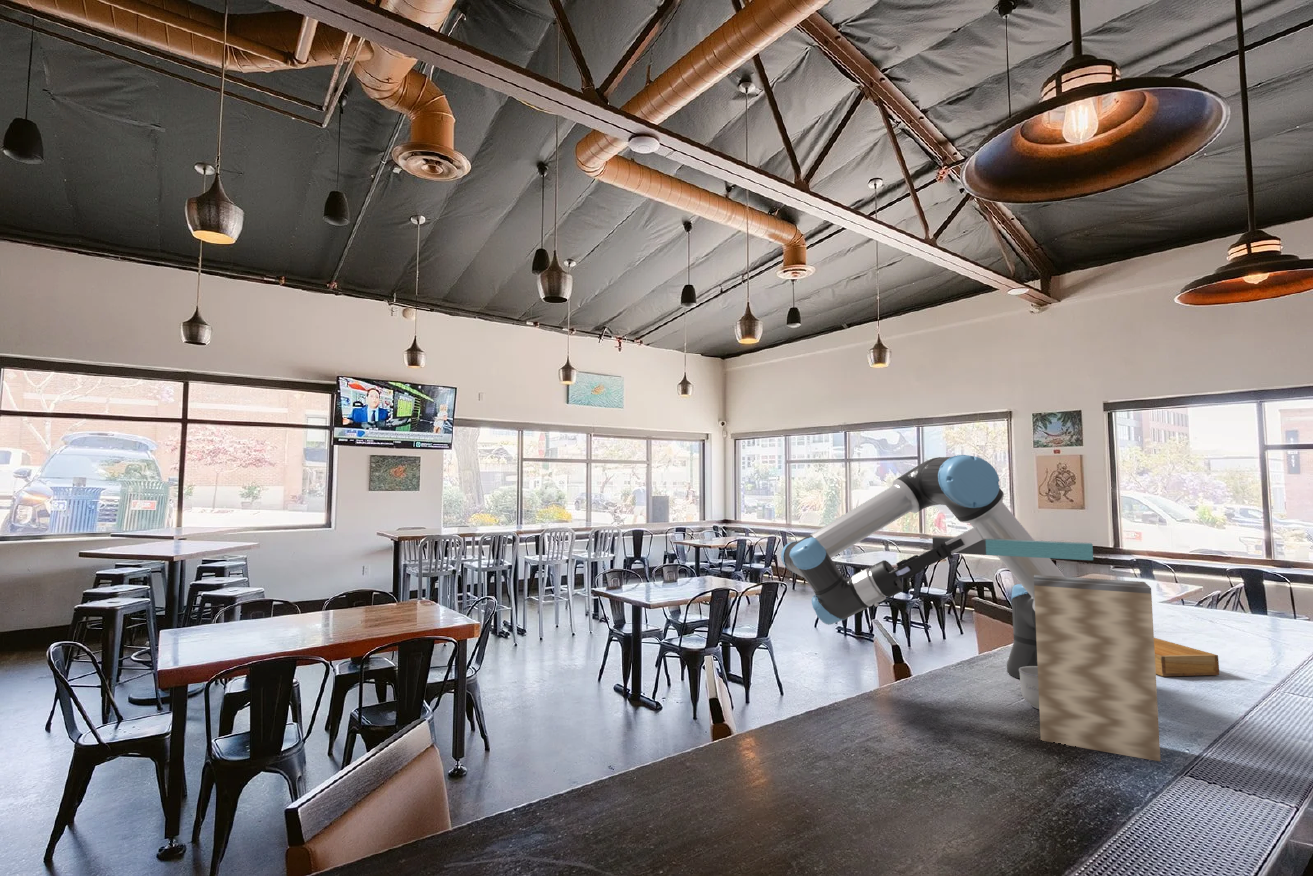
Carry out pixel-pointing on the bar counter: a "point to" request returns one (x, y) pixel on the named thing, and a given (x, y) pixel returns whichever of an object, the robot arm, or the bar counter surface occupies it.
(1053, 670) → the pedestal
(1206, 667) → the tray
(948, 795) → the bar counter surface
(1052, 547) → the teal and grey bar
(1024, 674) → the teacup
